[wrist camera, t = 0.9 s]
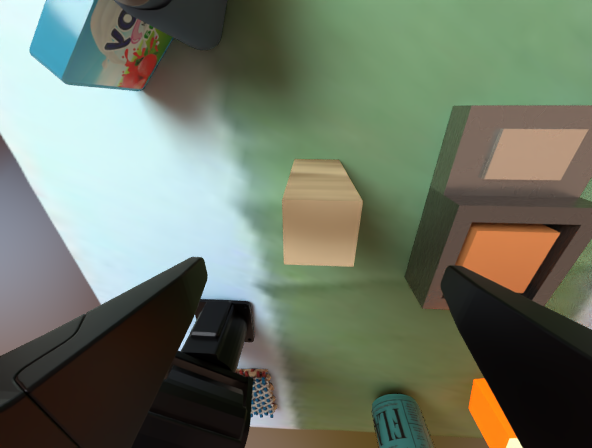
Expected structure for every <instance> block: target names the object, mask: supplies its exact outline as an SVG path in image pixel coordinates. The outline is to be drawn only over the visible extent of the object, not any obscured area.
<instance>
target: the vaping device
mask: <svg viewBox="0 0 592 448" xmlns="http://www.w3.org/2000/svg"><path fill="white" fill-rule="evenodd" d="M114 1H115V2H116V3H117V4H118V5H119V6H120V7H121V8H122V9H123V10H124V11H125V12H127V13H128V14H130V15H132V16H133V17H135V18H137V19H139V20H141V21H143V22H145V23H146V24H148V25H150V26H152V27H154V28H156V29H158V30H160V31H162V32H164V33H166V34H168V35H170V36H172V37H174V38H175V39H177V40H179V41H181V42H183V43H185V44H187V45H189V46H191V47H193V48H195V49H199V50H209V49H211V48H213V47H215V46H216V45H217V44H218V43H219V42H220V40H221V35H222V29H223V23H224V17H225V11H226V5H227V0H114Z"/></svg>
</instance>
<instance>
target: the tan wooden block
mask: <svg viewBox="0 0 592 448" xmlns="http://www.w3.org/2000/svg"><path fill="white" fill-rule="evenodd" d="M362 205H363V201H362V199H361V197H360V195H359V194H358V192H357V190H356V188H355V187H354V185H353V183H352V182H351V180H350V178H349V176H348V175H347V173H346V171H345V169H344V168H343V166H342V164H341V162H340V161H339V160H322V159H294V163H293V166H292V169H291V173H290V176H289V179H288V182H287V186H286V189H285V192H284V195H283V199H282V210H283V244H284V264H293V265H322V266H351V267H353V266H354V259H355V252H356V246H357V239H358V232H359V225H360V218H361V211H362Z"/></svg>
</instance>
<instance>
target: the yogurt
mask: <svg viewBox="0 0 592 448" xmlns="http://www.w3.org/2000/svg"><path fill="white" fill-rule="evenodd" d="M173 38H174V37H172V36H170V35H168V34H166V33H164V32H162V31H160V30H158V29H156V28H154V27H152V26H150V25H148V24H146V23H145V22H143V21H141V20H139V19H137V18H135V17H133V16H132V15H130V14H128V13H127V12H125V11H124V10H123V9H122V8H121V7H120V6H119V5H118V4H117V3H116V2H115V1H114V0H46V2H45V5H44V8H43V11H42V14H41V16H40V19H39V22H38V25H37V28H36V31H35V34H34V37H33V40H32V43H31V46H30V54H31V55H32V56H33V57H34V58H35V59H36V60H38V61H39V62H40V63H41V64H42V65H43V66H45V67H46V68H47V69H48V70H49V71H51V72H52V73H53V74H54V75H55V76H57V77H58V78H59V79H60V80H61V81H63V82H64V83H65V84H68V85H77V86H88V87H99V88H110V89H121V90H131V91H141V90H143V89H144V88H145V86H146V84H147V82H148V81H149V79H150V77H151V76H152V74H153V72H154V70H155V69H156V67H157V65H158V64H159V62H160V60H161V59H162V57H163V55H164V53H165V52H166V50H167V48H168V47H169V45H170V43H171V42H172V40H173Z"/></svg>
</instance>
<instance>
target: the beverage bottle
mask: <svg viewBox="0 0 592 448" xmlns="http://www.w3.org/2000/svg"><path fill="white" fill-rule="evenodd" d="M421 411H422V410H421ZM421 411H420V408H419V406H418V404H417V403H416V401H415V400H414V399H413V398H412V397H410V396H407V395H403V394H388V395H384V396H381V397H379V398H377V399H376V400H375V401H374V402H373V404H372V412H371V414H372V413H373V415H372V417H373V418H374V419H373V421H374V422H373V423H374V424H375V425H374V428H375V427H376V431H375V433H376V432H377V437H378V441H379V446H380V448H434V446H433V444H432V441H431V438H430V435H429V432H428V430H427V427H426V425H425V421H424V419H423V416H422V412H421Z"/></svg>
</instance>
